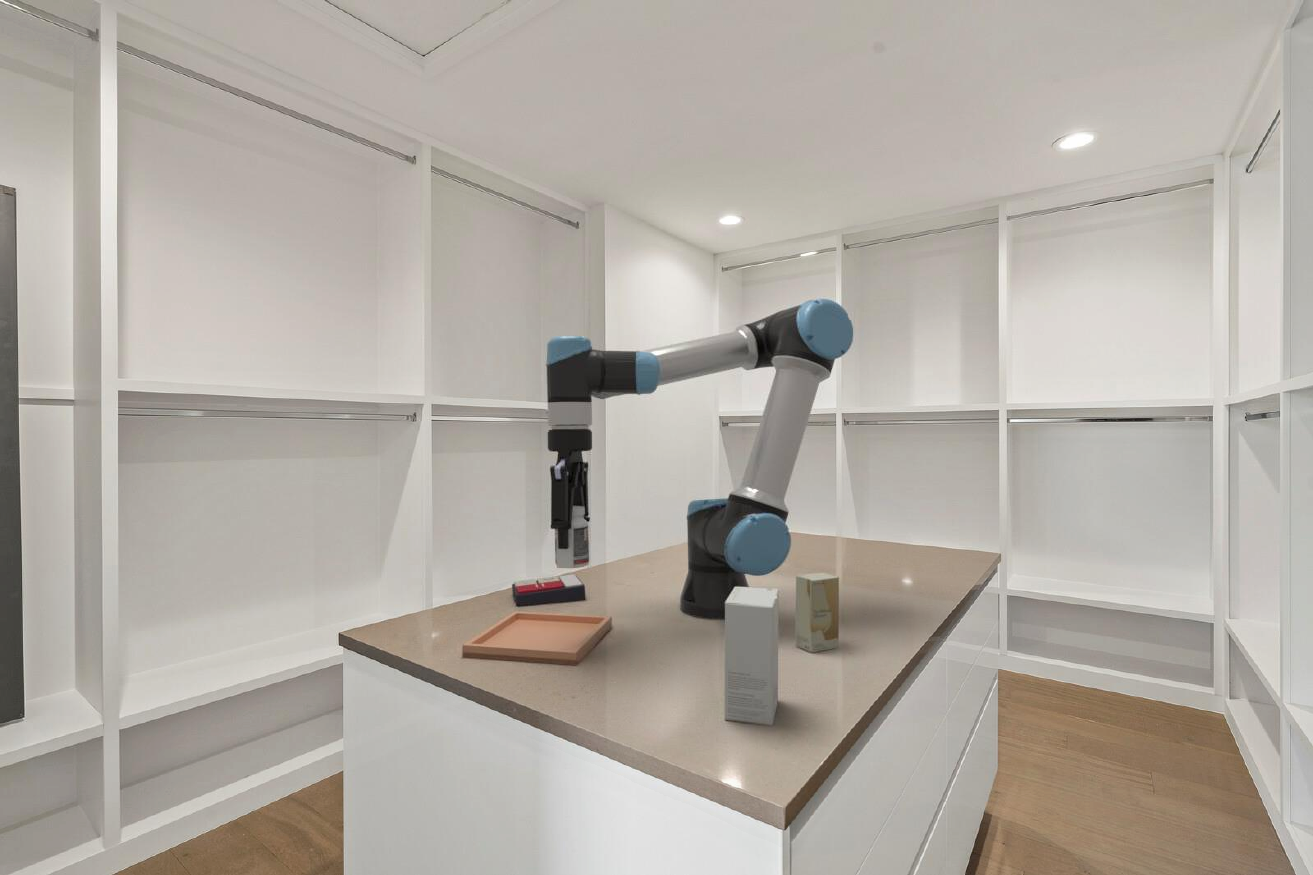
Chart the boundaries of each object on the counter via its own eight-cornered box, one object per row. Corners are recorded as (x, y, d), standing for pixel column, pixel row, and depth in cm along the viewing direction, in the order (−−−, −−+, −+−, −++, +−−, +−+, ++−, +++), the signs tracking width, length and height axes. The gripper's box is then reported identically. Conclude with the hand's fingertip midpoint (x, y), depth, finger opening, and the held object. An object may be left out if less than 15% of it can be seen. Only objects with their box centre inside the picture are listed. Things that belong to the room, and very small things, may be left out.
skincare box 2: (811, 654, 106) (811, 580, 106) (794, 646, 110) (793, 575, 109) (840, 647, 109) (840, 576, 108) (823, 640, 112) (822, 571, 112)
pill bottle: (591, 561, 111) (590, 505, 111) (586, 569, 106) (585, 509, 105) (559, 562, 112) (558, 505, 111) (551, 569, 106) (550, 509, 106)
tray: (611, 627, 121) (611, 616, 121) (575, 665, 102) (575, 652, 102) (514, 621, 126) (514, 611, 126) (462, 657, 106) (462, 645, 106)
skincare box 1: (734, 695, 90) (733, 585, 90) (781, 700, 88) (780, 588, 88) (723, 721, 82) (721, 600, 81) (775, 727, 80) (773, 604, 80)
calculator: (511, 580, 147) (575, 571, 151) (512, 598, 147) (577, 589, 151) (515, 591, 136) (584, 582, 141) (517, 611, 136) (586, 601, 141)
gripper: (566, 428, 118) (567, 552, 119) (528, 428, 100) (529, 575, 100) (605, 427, 117) (606, 553, 117) (573, 427, 98) (575, 576, 99)
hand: (571, 563), depth 109 cm, fingers closed on pill bottle, 6 cm apart
